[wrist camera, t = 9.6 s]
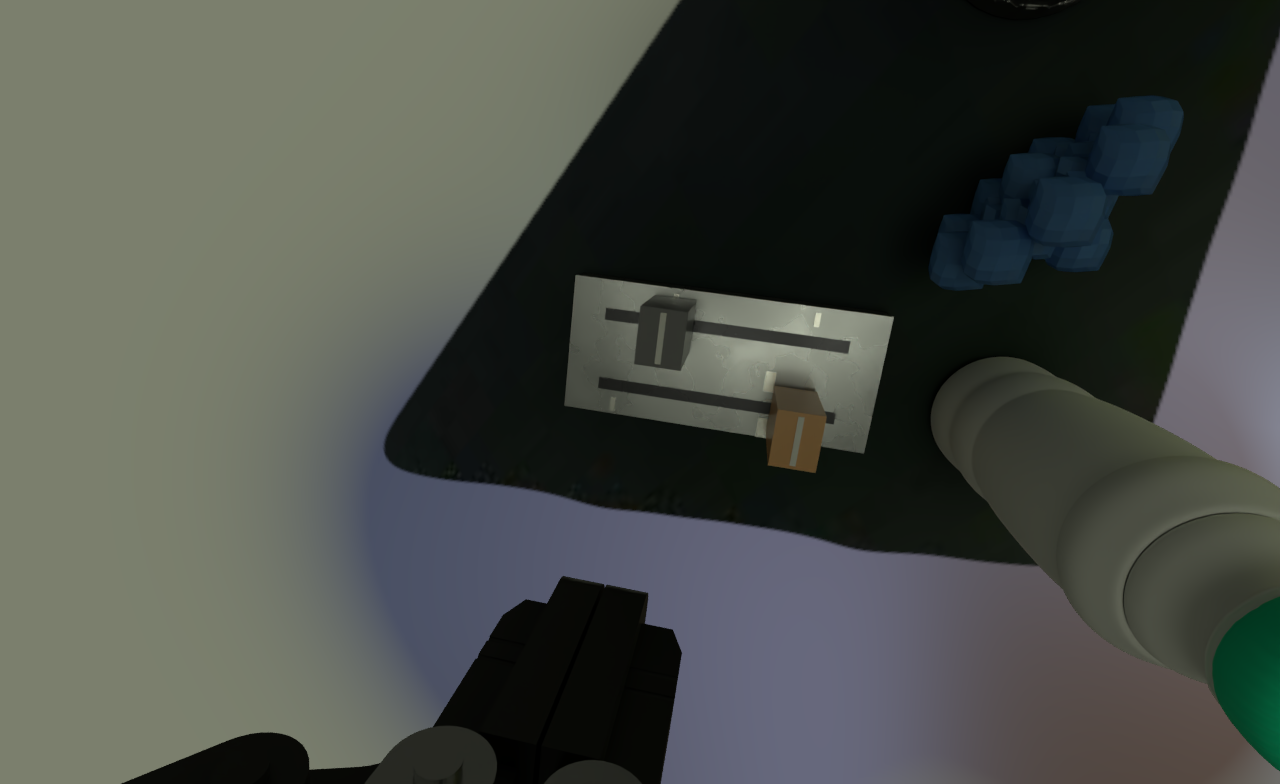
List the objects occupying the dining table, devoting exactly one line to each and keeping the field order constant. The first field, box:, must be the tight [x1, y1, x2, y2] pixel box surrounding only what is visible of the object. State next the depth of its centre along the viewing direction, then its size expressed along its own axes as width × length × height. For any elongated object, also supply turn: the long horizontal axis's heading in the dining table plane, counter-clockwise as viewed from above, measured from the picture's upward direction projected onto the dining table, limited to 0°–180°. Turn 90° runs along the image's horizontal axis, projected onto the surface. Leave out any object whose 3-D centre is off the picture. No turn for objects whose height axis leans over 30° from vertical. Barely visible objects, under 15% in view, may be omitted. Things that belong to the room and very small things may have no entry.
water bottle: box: [931, 357, 1280, 771], centre depth 26 cm, size 7×7×25 cm
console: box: [564, 273, 894, 453], centre depth 39 cm, size 8×18×2 cm, turn 83°
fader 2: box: [766, 386, 827, 473], centre depth 35 cm, size 3×2×5 cm
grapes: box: [928, 96, 1183, 291], centre depth 30 cm, size 12×7×12 cm, turn 131°
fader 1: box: [634, 295, 696, 371], centre depth 35 cm, size 3×2×5 cm
